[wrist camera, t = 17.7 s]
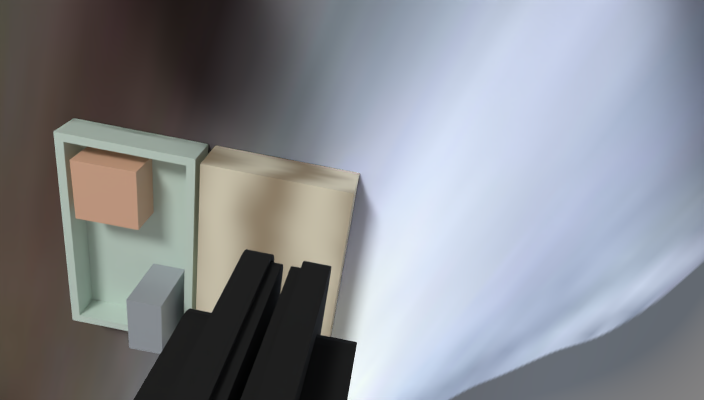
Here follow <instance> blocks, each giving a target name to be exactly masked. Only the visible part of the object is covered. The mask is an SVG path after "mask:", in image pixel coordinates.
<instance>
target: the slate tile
mask: <svg viewBox="0 0 704 400" xmlns="http://www.w3.org/2000/svg"><path fill="white" fill-rule="evenodd" d="M184 273H185V269H180V268H175V267H170V266H164V265H159V264H154V263H153V264H152V266H151V267H150V268H149V270H148V271H147V273H146V274H145V275H144V277H143V278H142V279H141V281H140V282H139V283H138V285H137V286H136V287H135V289H134V290H133V291H132V293H131V294H130V295H129V297H128V298H127V300H126V303H127V319H128V336H129V348H132V349H137V350H143V351H148V352H153V353H158V354H161V352H162V350H163V349H164V347H165V345H166V343H167V342H168V340H169V338H170V337H171V335H172V333H173V332H174V330H175V328H176V326H177V325H178V323H179V321H180V320H181V318H182V316H183V315H184Z"/></svg>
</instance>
